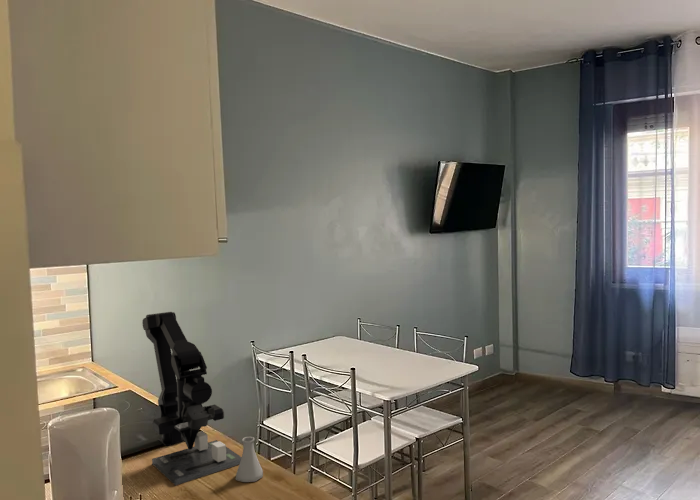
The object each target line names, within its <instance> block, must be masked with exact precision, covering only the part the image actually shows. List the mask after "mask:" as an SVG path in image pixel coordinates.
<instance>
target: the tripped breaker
mask: <svg viewBox="0 0 700 500" xmlns="http://www.w3.org/2000/svg"><path fill="white" fill-rule="evenodd" d="M208 442H209V437H208V434H207V433H206V432H205V431H203V430H201V431H198V433H197V436H196V439H195V442H194V447H195V448H197V449H198V450H199V451H201V450H205V449H208Z"/></svg>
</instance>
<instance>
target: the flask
mask: <svg viewBox="0 0 700 500" xmlns="http://www.w3.org/2000/svg"><path fill="white" fill-rule="evenodd" d="M241 443H242V444H243V446H242V447H243V449H242V455H241V457H242V458H241V461H240V464H239V465H238V468H237V471H236V474H235V481H238V482H242V483H249V482H250V483H251V482H257V481H258V480H260V479H262V478H264V477H263V476H264V470H263V468H262V466H261V464H260V461H259V459H258V456H257V453H256V451H255V446H254V443H255V437H254V436H245V437H243V438H242V439H241Z"/></svg>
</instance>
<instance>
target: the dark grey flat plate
mask: <svg viewBox="0 0 700 500" xmlns="http://www.w3.org/2000/svg"><path fill="white" fill-rule="evenodd" d="M215 442H218V440H216V439H215V440H213V441H208V449H205V450H201V451H199V450H198V449H197V448H195V446H193V448H192V449H190V450H189V449H188V448H185V449H181V450H178V451H175V452H171V453H168V454H164V455H160V456H157V457H154V458H151V465H152V466H154V467H155V468H156V469H157V470H158V471H159V472H160V473H161V474H162V475H163V476H164V477H166V478H167V479H168V481H170V482H171V483H172V484H173V485H174V486H179V485H181V484H184V483H187V482H190V481H193V480H196V479H201V478H202V477H206V476H209V475H211V474H214V473H217V472H220V471H223V470H227V469H230V468H233V467H236V466H239V464H240V461H241V458H242V455H239V454H237V453H236V452H235V451H234V450H232V449H230V448H229V447H227V446H226V460H224V461H220V462H217V461H216V460H214V459H213V458H212V443H215Z"/></svg>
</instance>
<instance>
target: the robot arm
mask: <svg viewBox="0 0 700 500" xmlns="http://www.w3.org/2000/svg"><path fill="white" fill-rule="evenodd" d="M141 325H142V328H143V330H144V332H145V335H146V338H147V339H148V340H149V341H150V342H151V343H152V344H153V349H154V354H155V360H156V365H157V372H158V377H159V382H160V388H161V391H160V394H159V396H158V400H157V406H156V410H155V412H154V420H153V421H152V424H151V425H152V426H151V427H152V430H153V431H154V432H155V433H157V434H158V435H161V437H158V441H159V442H160V443H162V444H163V445H164V446H165V447H168V446H171V445H175V444H178V443H183V442H184V444H186V447H187V449H189V450H190V449H192V448H193V447H194V446H195V444H194V442H195V439H196V436H197V433H198V432H200V431H199V430H200V429H202V428H203V427H204V428H205V427H207V426H208V424H209V421H211V420H212V421H215V422H216V421H219V420H223V419H225V411H224V409H223V408H222V407H220V406H218V405H217V404H212V405H208V406H207V405H205V406H203V404H204V403H207V402H208V401H209V400H210V398H211V397H212V396H213V389H212V386H211V385H210V384H209V383H208V382H206V381H205V377H204V376H205V375H207V373H208V372H207V368H208V367H207V364H206V361H205V358H204V356H203V355H202V352H201V351H200V350H199V349H198V347H197V345H195V344H194V343H192V342H190V341H189V340H188V339H187V338H186V336H185V334H184V331H183V330H182V328H181V326H180V323H178V321H177V316H176V313H175V311H174V312H173V311H167V312H159V313H151V314H146V315H145V317H144V318H142V323H141Z"/></svg>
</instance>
